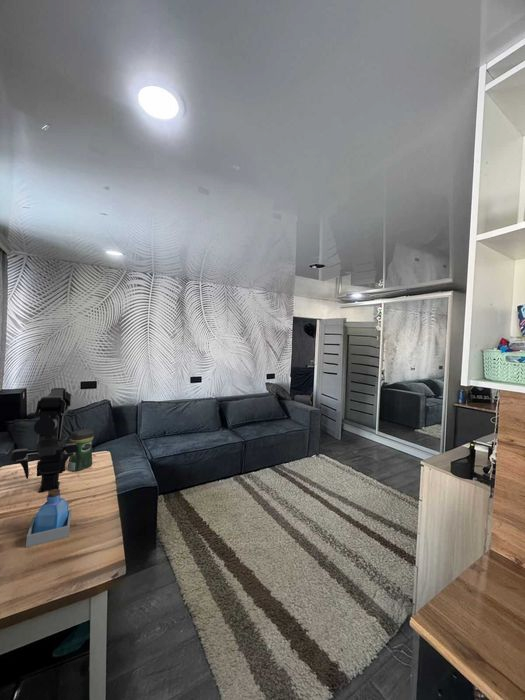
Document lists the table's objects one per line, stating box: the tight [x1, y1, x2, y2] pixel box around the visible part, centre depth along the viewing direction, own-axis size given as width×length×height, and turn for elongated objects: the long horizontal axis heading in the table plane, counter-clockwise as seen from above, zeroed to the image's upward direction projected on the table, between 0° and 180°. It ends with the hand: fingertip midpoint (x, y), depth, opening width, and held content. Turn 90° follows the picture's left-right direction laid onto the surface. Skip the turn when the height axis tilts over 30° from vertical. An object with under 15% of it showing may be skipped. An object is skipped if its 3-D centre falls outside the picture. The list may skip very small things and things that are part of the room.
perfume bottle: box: [34, 488, 70, 533], centre depth 86 cm, size 6×6×12 cm
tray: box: [25, 509, 72, 549], centre depth 86 cm, size 10×10×3 cm
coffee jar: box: [67, 427, 95, 472], centre depth 132 cm, size 10×8×19 cm
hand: (44, 476), depth 97 cm, fingers open, 9 cm apart
